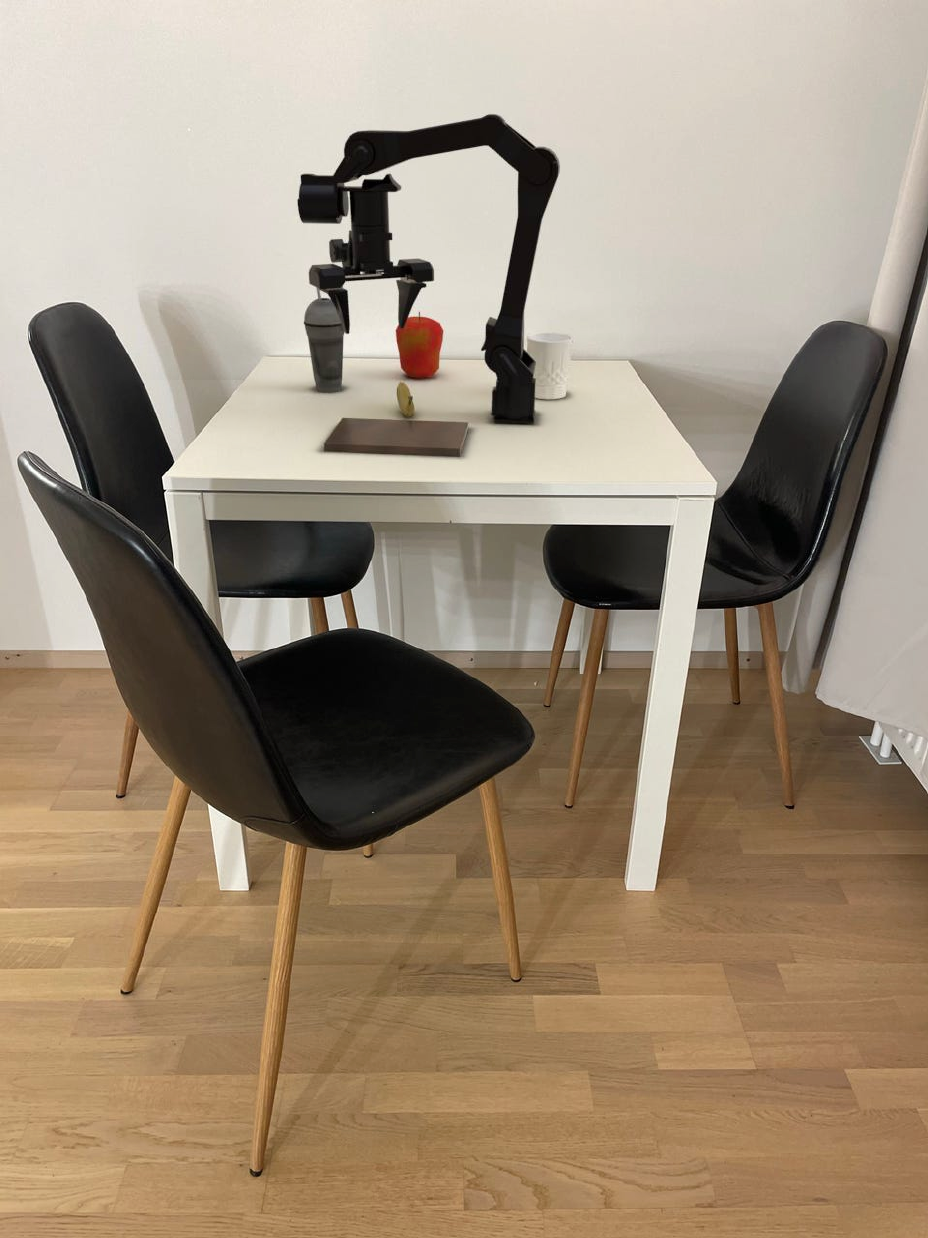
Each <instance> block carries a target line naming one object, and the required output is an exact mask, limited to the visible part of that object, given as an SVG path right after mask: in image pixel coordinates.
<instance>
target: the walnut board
mask: <svg viewBox="0 0 928 1238" xmlns="http://www.w3.org/2000/svg"><path fill="white" fill-rule="evenodd" d="M468 431H469V422H468V421H448V420H447V421H445V420H444V421H443V420H418V419H417V420H415V419H389V418H385V419H384V418H364V417H363V418H360V417H342V418H341V419H340V421H339V422H338V423H337V424H336V426H335V428H334V429H333V430H332V431H331V432H330V434H329V436H328V437H327V438H326V440H325V441H324V442H323V451H324V452H336V453H337V452H338V453H340V452H341V453H361V454H363V453H364V454H366V453H367V454H386V455H387V454H390V455H413V456H414V455H416V456H441V457H442V456H443V457H461V454H462V451H463V448H464V444H465V441H466V437H467V434H468Z"/></svg>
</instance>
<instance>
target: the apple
mask: <svg viewBox="0 0 928 1238" xmlns="http://www.w3.org/2000/svg"><path fill="white" fill-rule="evenodd" d="M395 339H396V340H395V341H396V345H397V350H398V354H399V363H400V364H399V365H400V369H401V370H402V371H403V372H404V373H405V374H406V375H407V376H408V377H411V378H415V379H427V378H432V377H434V376H435V374H436V373H437V372H438V370H439V369H440V357H441V355H440V354H441V349H442V345H443V340H444V329H443V327H442V325H441V323H440V322H438V321H436V320H435V319H433V318H430V317H427V316H421V311H418V316H408V319H407V321H406V324H405V326H404V328H403V329H400V328H399V324H398V325H397V327H396V329H395Z"/></svg>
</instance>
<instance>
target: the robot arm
mask: <svg viewBox="0 0 928 1238" xmlns="http://www.w3.org/2000/svg"><path fill="white" fill-rule="evenodd" d="M480 147H489V148H490V149H491V150H493V151H494V152H495V153H496V154H497V155H498V156H499V157H500V158H501V159H503V161H504V162H505V163H507V164H508V165H509V166H510V167H512V169H514V170H515V171H516V172H517V219H516V224H515V228H514V229H515V230H514V235H513V240H512V245H511V251H510V256H509V262H508V268H507V273H506V277H505V282H504V283H505V284H504V288H503V294H502V300H501V305H500V310H499V312H498V316H497V318H495V317H492V316H489V317H488V319H487V322H486V323H485V334H484V335H485V336H484V337H485V338H484V341H483V344H482V346H481V349H480V350H481V352H484V362H485V364H486V366H487V368H488V369H489V370H490V371H491V372H493V373H494V374H495V376H496V380H495V386H493V387H492V391H491V415H492V416H493V422H494V423H503V424H531V425H533V424H535V418H536V410H535V407H536V406H535V405H536V398H535V387H536V378H533V375H534V371H535V366H536V362H535V360H534V359H533V358H532V357H531V356H530V355H529V354H528V353H527V350H525V308H526V305H527V304H526V303H527V300H528V294H529V288H530V284H531V278H532V273H533V268H534V263H535V259H536V253H537V248H538V243H539V238H540V234H541V233H540V232H541V227H542V223H543V219H544V216H545V213H546V210H547V208H548V205H549V202H550V200H551V197H552V194H553V192H554V189H555V186H556V185H557V181H558V178H559V175H560V171H561V163H560V159H559V158H558V156H557V153H556V152H554V151H553V150H552V149H551V148H549V147H546V146H535V144H533V143H532V142H531V141H529V139H527V138H526V137H524V136H523V135H522V134H521V133H520V132H518V131H517V130H516V129H514V128H513V127H512V126H511V125H509V124H508V123H507V122H506V120H505V119H504V118H503V117H502V116H501V115H499V114H497V113H488V114H486V115H484V116H482V117H478V118H473V119H468V120H461V121H456V122H450V123H446V124H439V125H434V126H429V127H424V128H418V129H413V130H385V129H384V130H381V129H380V130H378V129H372V130H371V129H368V130H357V131H355V132H353V133H351V134H350V135H349V136H348V137H347V139H346V140H345V142H344V148H343V158H342V160H341V161H340V163H339V165H338V166H337V168H336V169H335V171H334V172H333V174H331V175H330V174H329V175H328V174H326V175H325V174H314V173H302V174H300V184H299V189H298V198H297V211H298V216H299V219H300V221H301V223H302V224H323V225H324V224H325V225H326V224H327V225H328V224H329V225H330V224H331V225H334V224H336V225H340V224H341V223H342V221H343V217H344V218H345V217H348V216H349V213H350V230H348V241H347V242H345V241H344V239H343V238H335V239H334V238H333V239H330V240H329V241H328V245H329V246H328V252H329V258H330V262H331V263H324V264H312V265H310V268H309V270H308V282H309V285H311V286H313V287H315V288H316V287H317V288H319V290H320V292H322V293H325V294H326V295H328V298H329V299H331V301H332V302H333V304H334V306H335V309H336V311H337V314H338V316H339V319H340V321H341V324H342V327H343V329H344V334H346V335H349V334H350V329H351V321H350V306H349V290H348V289H346V288H344V285H345V283H347V282H358V281H373V280H387V279H396V280H395V282H396V286H397V290H398V304H397V305H398V307H397V308H398V309H397V310H398V311H397V313H398V314H397V319H398V321H397V322H398V325H399V328H400V329H403V328H404V326H405V324H406V321H407V319H408V317H410V314H411V311H412V308H413V306H414V304H415V302H416V300H417V299H418V296H419V294H420V293H421V291H422V289H424V288H427V283H429V282H434V281H435V269H434V266H433V264H432V263H431V261H428V260H425V259H422V258H403V259H402V258H401V259H399V260H398V262H397V264H396V265H395V264H394V262H393V261H391V244H390V243H391V242H390V241H393V232H390V212H389V209H390V208H389V193H397V192H399V191H401V190H402V185H401V184H400V183H398V182H397V180H395V178H394V177H393V175H392V174H391V173H387V174H385V176H384V177H383V178H377V179H376V178H364V179H363V180H362V183H361V185H360V186H359V185H358V186H357V185H355V186H354V185H353V186H351V185H345V184H346V183H349V182H353V181H356V180H359V179H361V178H362V177H363V176H370V175H373V174H376V173H380V172H382V171H385V170H387V169H390V168H392V167H395V166H398V165H400V164H402V163H405V162H408V161H409V160H412V159H417V158H423V157H430V156H433V155H440V154H445V153H451V152H457V151H462V150H468V149H473V148H480ZM348 192H349V193H348ZM349 210H350V211H349ZM335 263H341V266H340V265H337V264H335Z"/></svg>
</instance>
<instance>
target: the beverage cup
mask: <svg viewBox="0 0 928 1238" xmlns="http://www.w3.org/2000/svg"><path fill="white" fill-rule="evenodd" d="M315 289H316V295H317V298H316V299H314V300H313V301H311V302H310V303H309V304H308V305H307V307H306V310H305V312H304V317H303V318H304V321H303V325H304V330H305V333H306V336H307V340H308V347H309V353H310V360H311V365H312V366H311V367H312V374H313V379H314V383H315V389H316V391H317V392H322V393H336V392H339V391H342V385H343V369H344V367H343V366H344V335H345V332H344V329H343V327H342V324H341V321H340V319H339V316H338V314H337V311H336V309H335V306H334V304H333V302H332V301H331V299H330V297H322V296H321V290H319V288H317V287H315Z"/></svg>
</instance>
